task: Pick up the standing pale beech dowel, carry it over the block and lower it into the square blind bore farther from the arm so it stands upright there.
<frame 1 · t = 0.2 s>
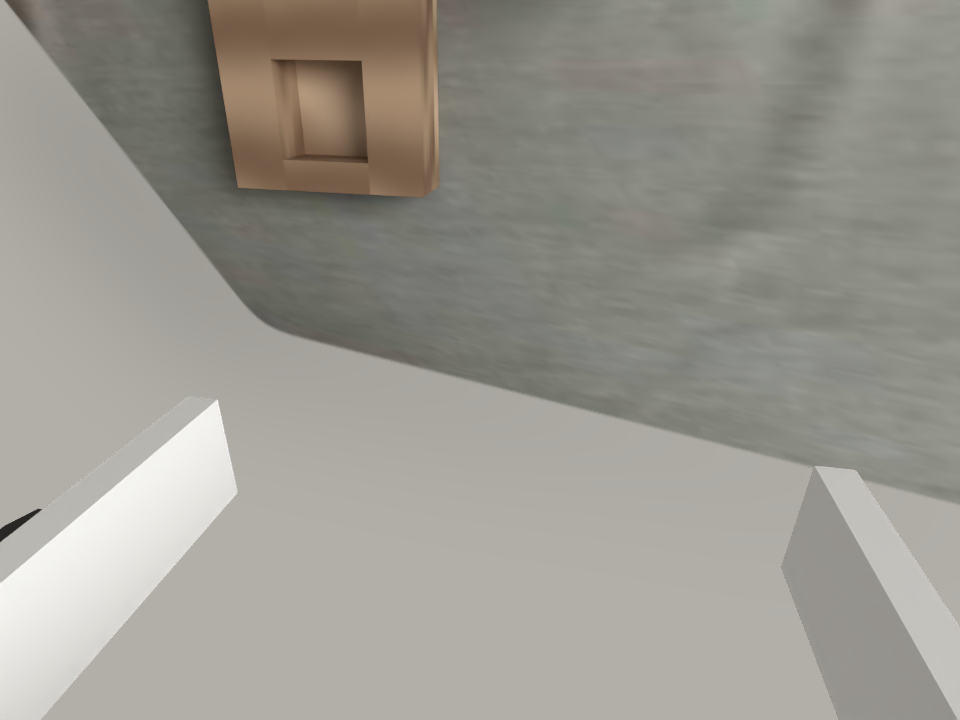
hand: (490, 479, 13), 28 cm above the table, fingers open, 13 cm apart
bore block: (340, 28, 35), on the table
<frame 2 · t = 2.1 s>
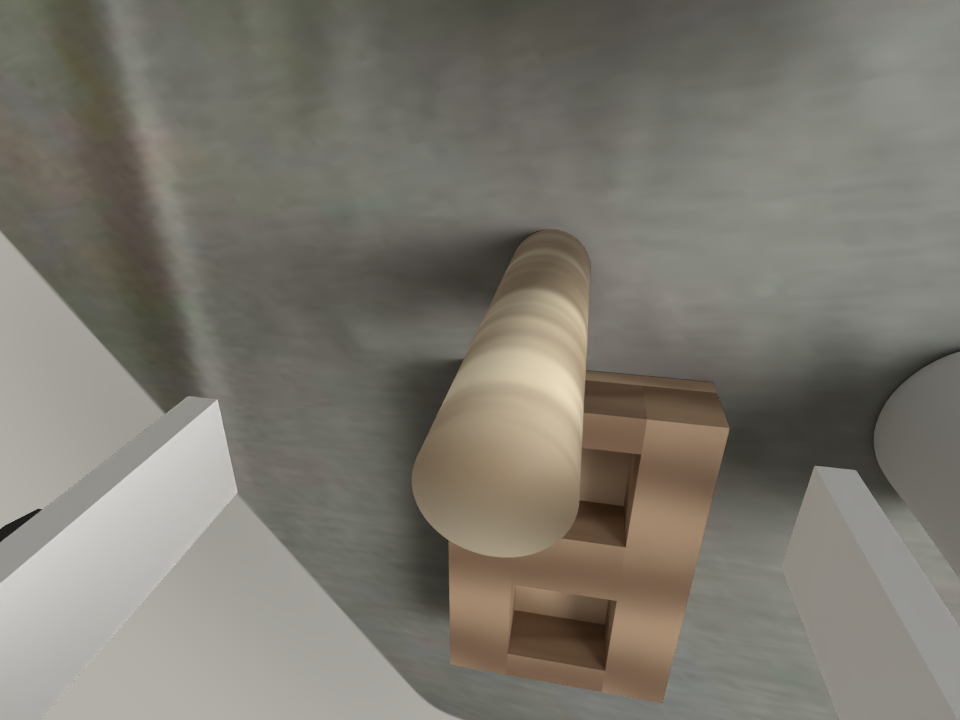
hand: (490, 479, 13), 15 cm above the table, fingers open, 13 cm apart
bore block: (569, 512, 32), on the table
pin: (550, 268, 26), on the table
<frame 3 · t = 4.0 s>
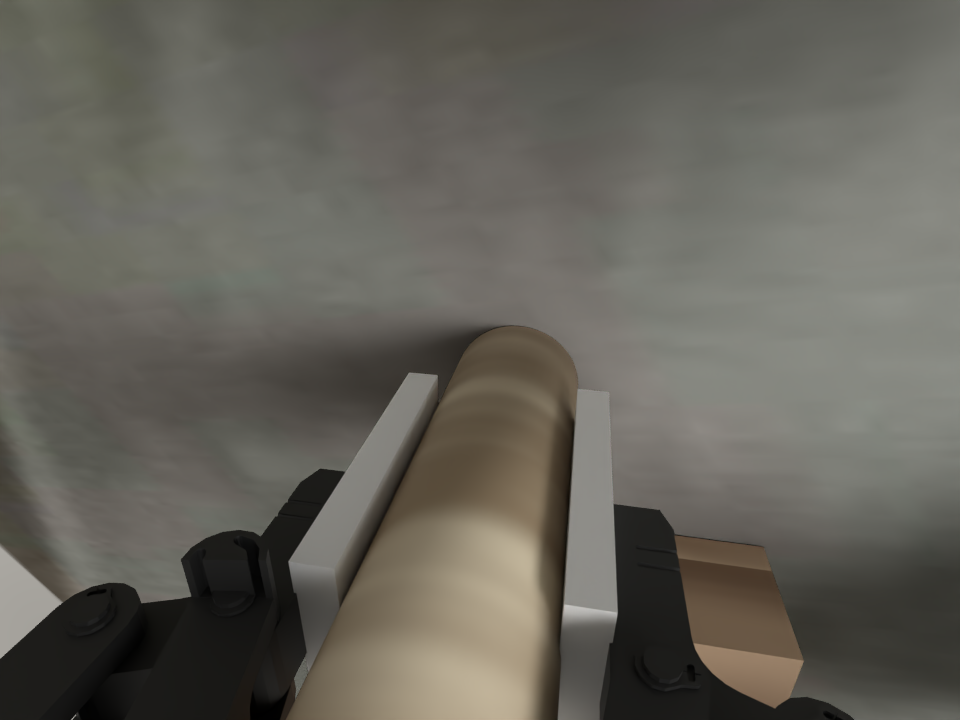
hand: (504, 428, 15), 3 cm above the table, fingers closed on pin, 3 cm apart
bore block: (552, 696, 23), on the table
pin: (516, 382, 17), on the table, touching gripper
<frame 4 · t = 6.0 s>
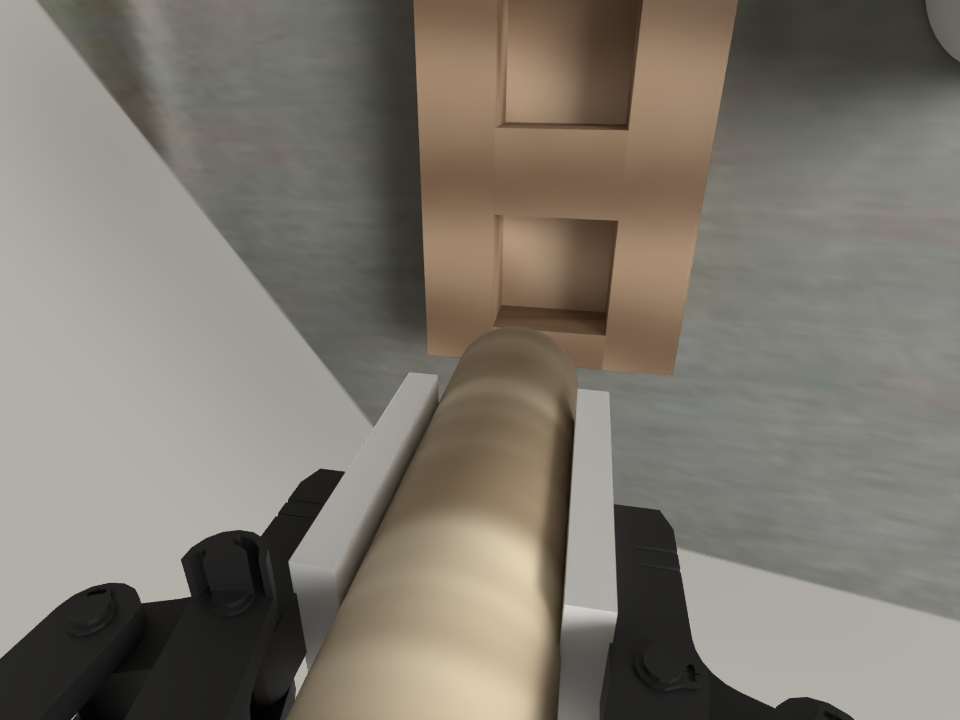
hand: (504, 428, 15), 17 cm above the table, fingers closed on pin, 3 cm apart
bore block: (563, 161, 28), on the table
pin: (516, 382, 17), point 14 cm above the table, touching gripper
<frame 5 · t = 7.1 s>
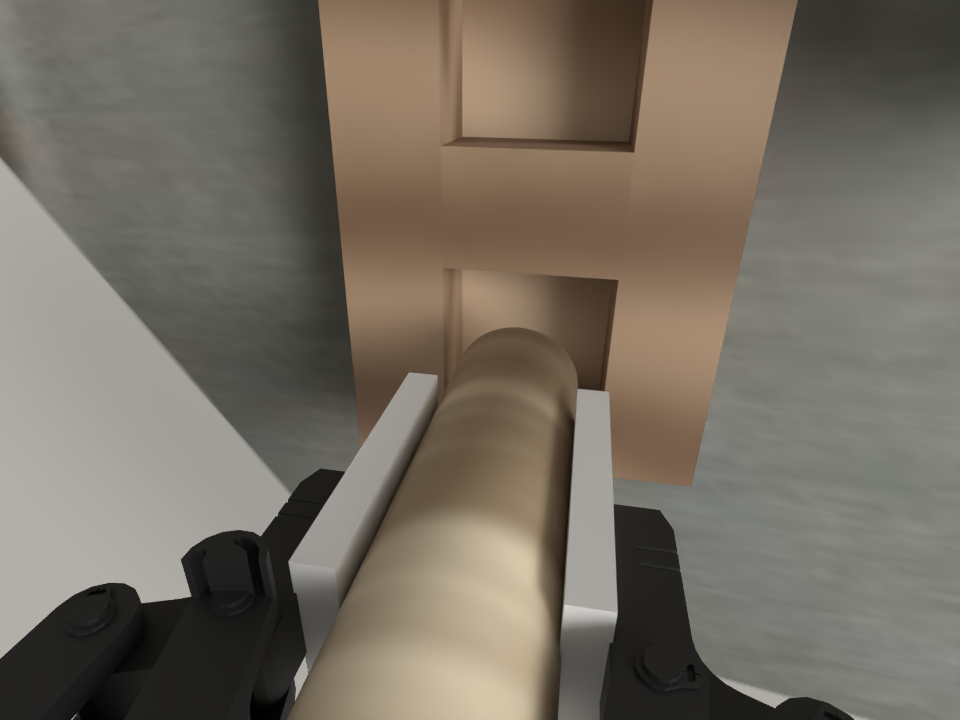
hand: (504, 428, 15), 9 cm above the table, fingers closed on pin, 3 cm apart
bore block: (542, 190, 20), on the table
pin: (516, 383, 17), point 6 cm above the table, touching gripper
when the fingers open (5 cm above the table, at t = 8.0 s): pin drops 2 cm, resting on bore block.
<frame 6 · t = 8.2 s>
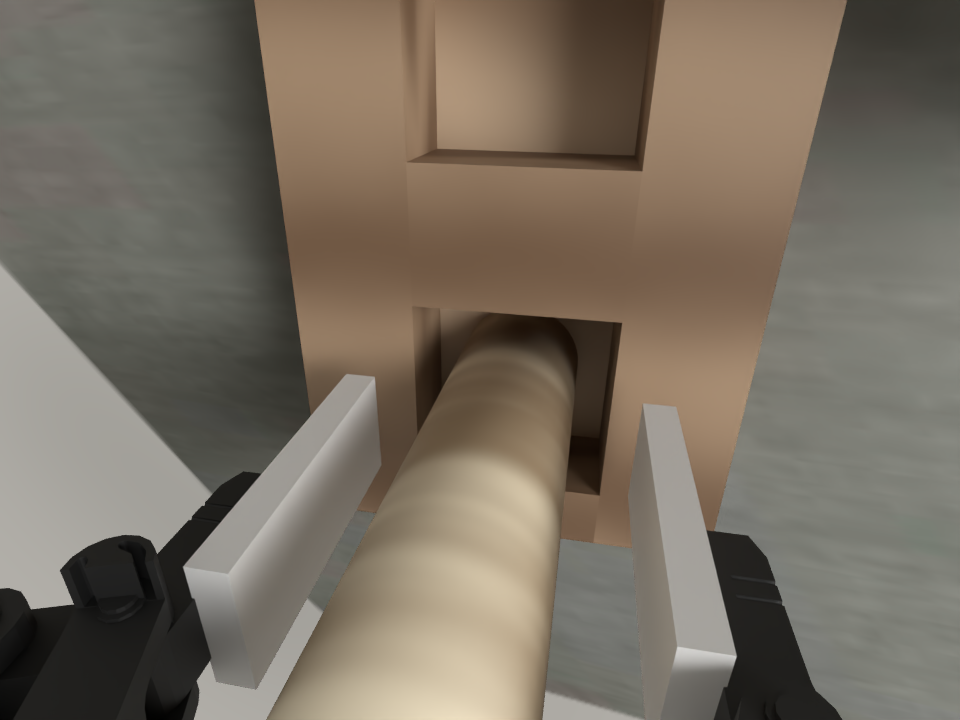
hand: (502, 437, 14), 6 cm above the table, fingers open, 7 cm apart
bore block: (533, 211, 17), on the table
pin: (521, 359, 19), point 1 cm above the table, touching bore block
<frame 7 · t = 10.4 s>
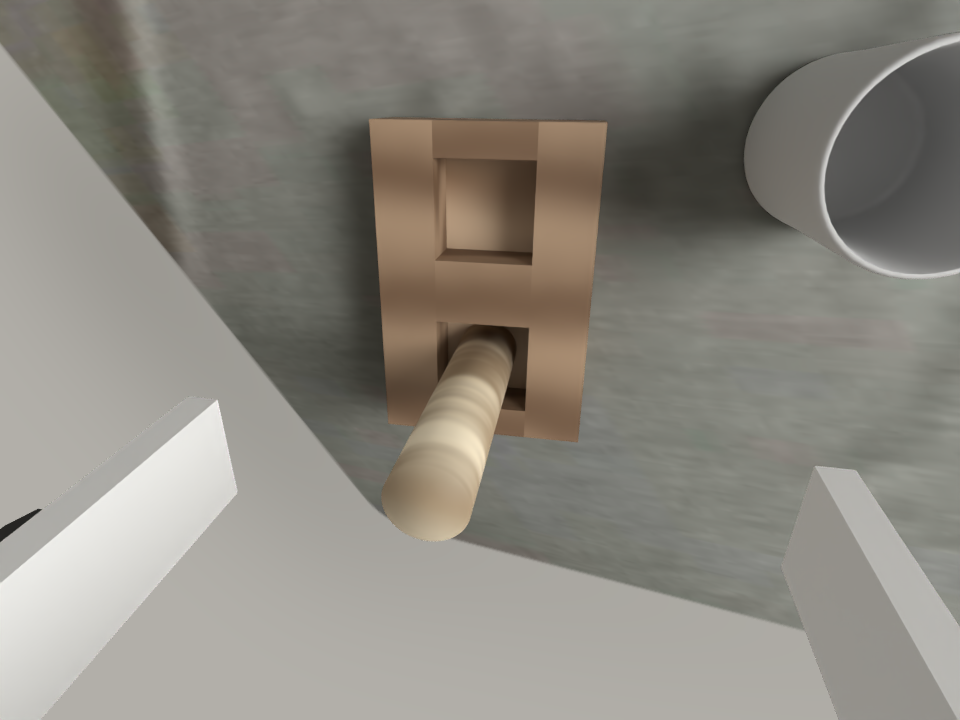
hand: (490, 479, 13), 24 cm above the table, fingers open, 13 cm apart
bore block: (492, 275, 36), on the table
pin: (488, 347, 37), point 1 cm above the table, touching bore block
mug: (862, 124, 30), on the table
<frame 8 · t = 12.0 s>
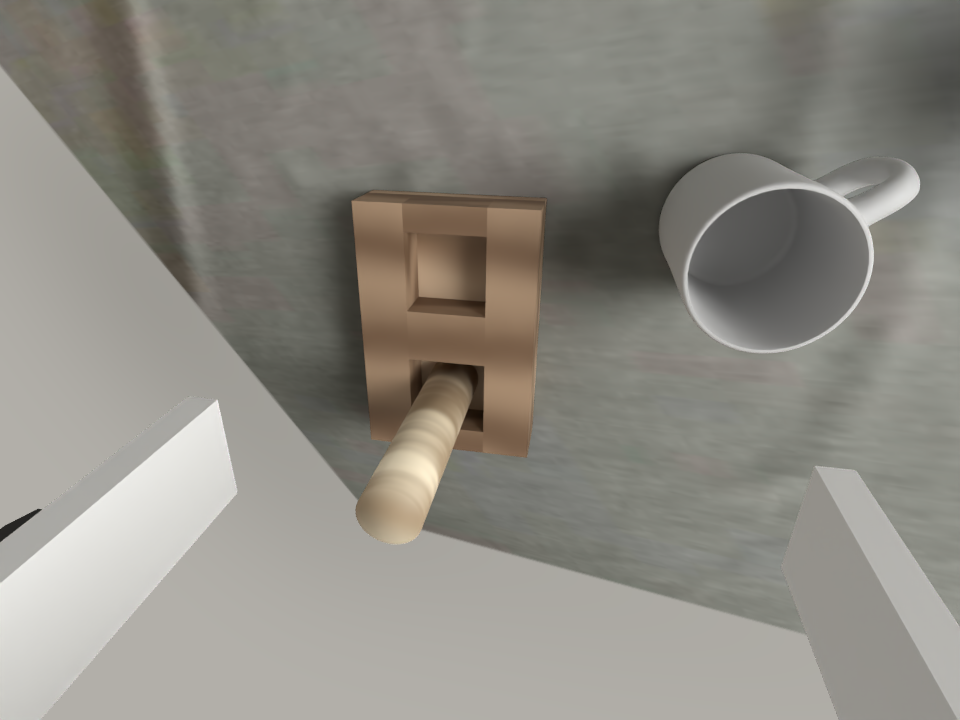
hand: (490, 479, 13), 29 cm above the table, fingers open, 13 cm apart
bore block: (458, 317, 43), on the table
pin: (455, 377, 44), point 1 cm above the table, touching bore block
mug: (753, 207, 36), on the table
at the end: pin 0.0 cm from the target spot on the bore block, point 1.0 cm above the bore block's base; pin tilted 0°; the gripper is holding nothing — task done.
